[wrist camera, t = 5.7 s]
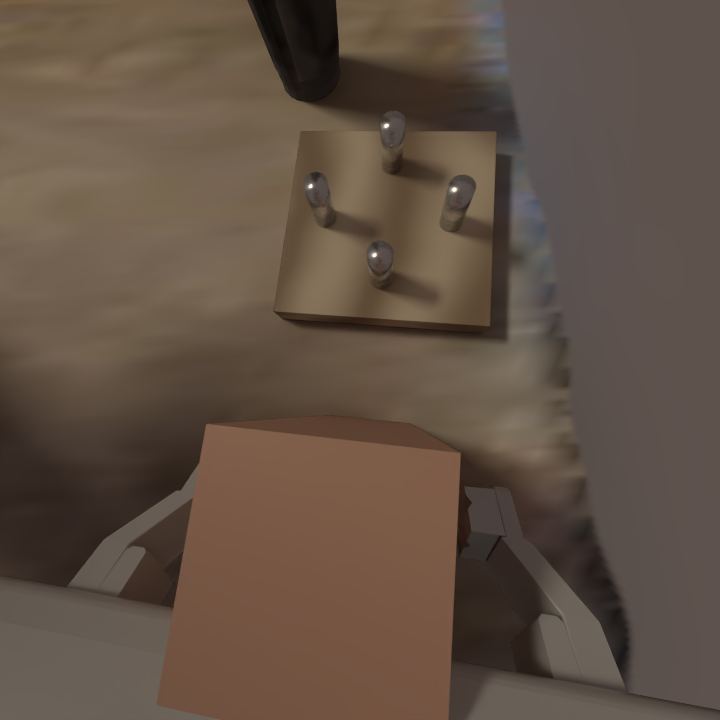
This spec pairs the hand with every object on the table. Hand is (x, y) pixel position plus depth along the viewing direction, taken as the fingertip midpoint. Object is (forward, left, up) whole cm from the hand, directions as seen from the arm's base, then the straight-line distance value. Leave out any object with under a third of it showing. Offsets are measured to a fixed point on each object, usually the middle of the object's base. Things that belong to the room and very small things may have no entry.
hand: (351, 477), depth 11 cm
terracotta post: (0, -1, -7) cm, 7 cm away
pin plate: (0, +14, -7) cm, 16 cm away
